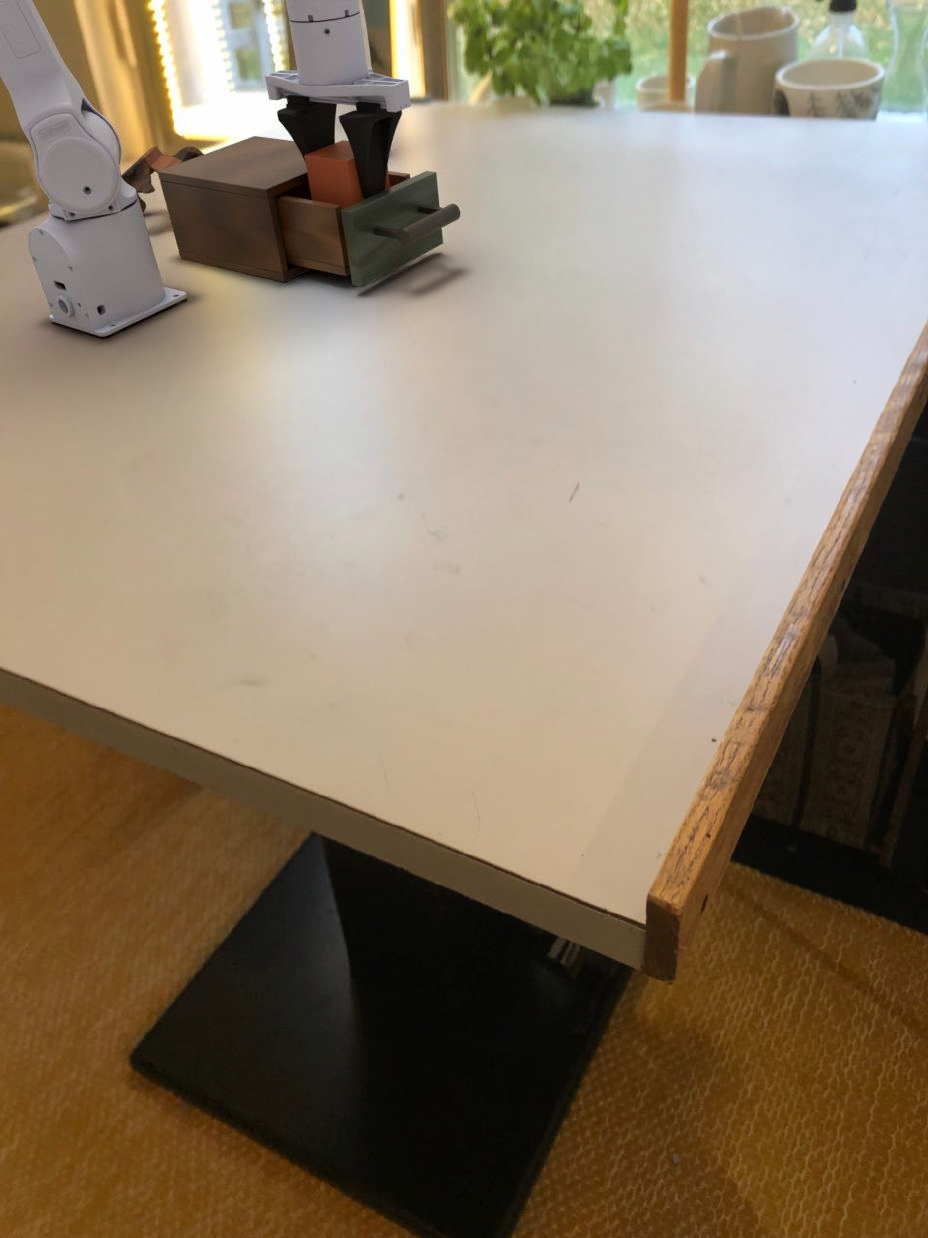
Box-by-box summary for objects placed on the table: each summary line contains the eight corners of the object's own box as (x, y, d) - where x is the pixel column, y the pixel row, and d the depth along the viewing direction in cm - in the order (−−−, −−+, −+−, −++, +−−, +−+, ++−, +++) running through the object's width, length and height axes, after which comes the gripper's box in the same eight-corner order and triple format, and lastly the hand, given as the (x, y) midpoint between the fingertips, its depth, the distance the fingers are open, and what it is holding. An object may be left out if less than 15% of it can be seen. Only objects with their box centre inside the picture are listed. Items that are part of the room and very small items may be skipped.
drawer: (479, 249, 89) (473, 176, 85) (398, 295, 82) (388, 218, 78) (337, 224, 97) (326, 156, 93) (254, 263, 91) (238, 192, 87)
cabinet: (374, 237, 96) (362, 149, 91) (284, 282, 89) (265, 189, 84) (271, 217, 104) (254, 135, 98) (180, 258, 96) (156, 171, 91)
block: (355, 222, 85) (346, 160, 82) (314, 214, 87) (303, 155, 84) (392, 204, 88) (385, 144, 84) (351, 197, 90) (342, 139, 87)
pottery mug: (182, 243, 101) (122, 173, 97) (143, 270, 108) (85, 206, 104) (247, 177, 106) (192, 109, 102) (205, 207, 113) (153, 144, 109)
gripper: (426, 7, 76) (443, 189, 85) (295, 4, 84) (322, 171, 92) (367, 25, 72) (391, 214, 81) (234, 20, 80) (269, 193, 88)
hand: (351, 193), depth 87 cm, fingers closed on block, 5 cm apart
